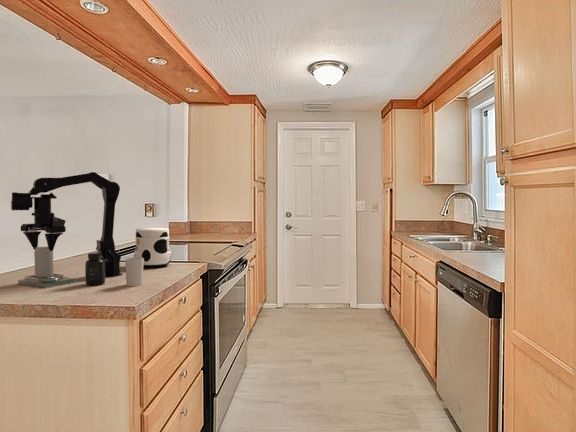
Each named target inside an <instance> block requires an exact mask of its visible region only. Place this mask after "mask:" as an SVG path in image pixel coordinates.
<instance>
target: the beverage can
mask: <svg viewBox="0 0 576 432" xmlns="http://www.w3.org/2000/svg"><path fill="white" fill-rule="evenodd" d="M33 253H34V255H33V256H34V275H35V277H37V278H45V277H50V276H53V275H54V273H55V271H54V266H55V265H54V250H53V251H50V250H49V248H48V246H38V247H36V248H35V250H34V252H33Z"/></svg>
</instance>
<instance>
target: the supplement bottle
mask: <svg viewBox="0 0 576 432" xmlns="http://www.w3.org/2000/svg"><path fill="white" fill-rule="evenodd" d="M104 261H105V260H103V258H102V253H99V252H95V251H94V252H89V253H87V260H86V261H85V265H84V266H85V268H84V269H85V270H84V272H85V273H84V274H85V276H84V277H85V285H86V286H91V287H93V286H101V285H105V283H106V276H105V262H104Z"/></svg>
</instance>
